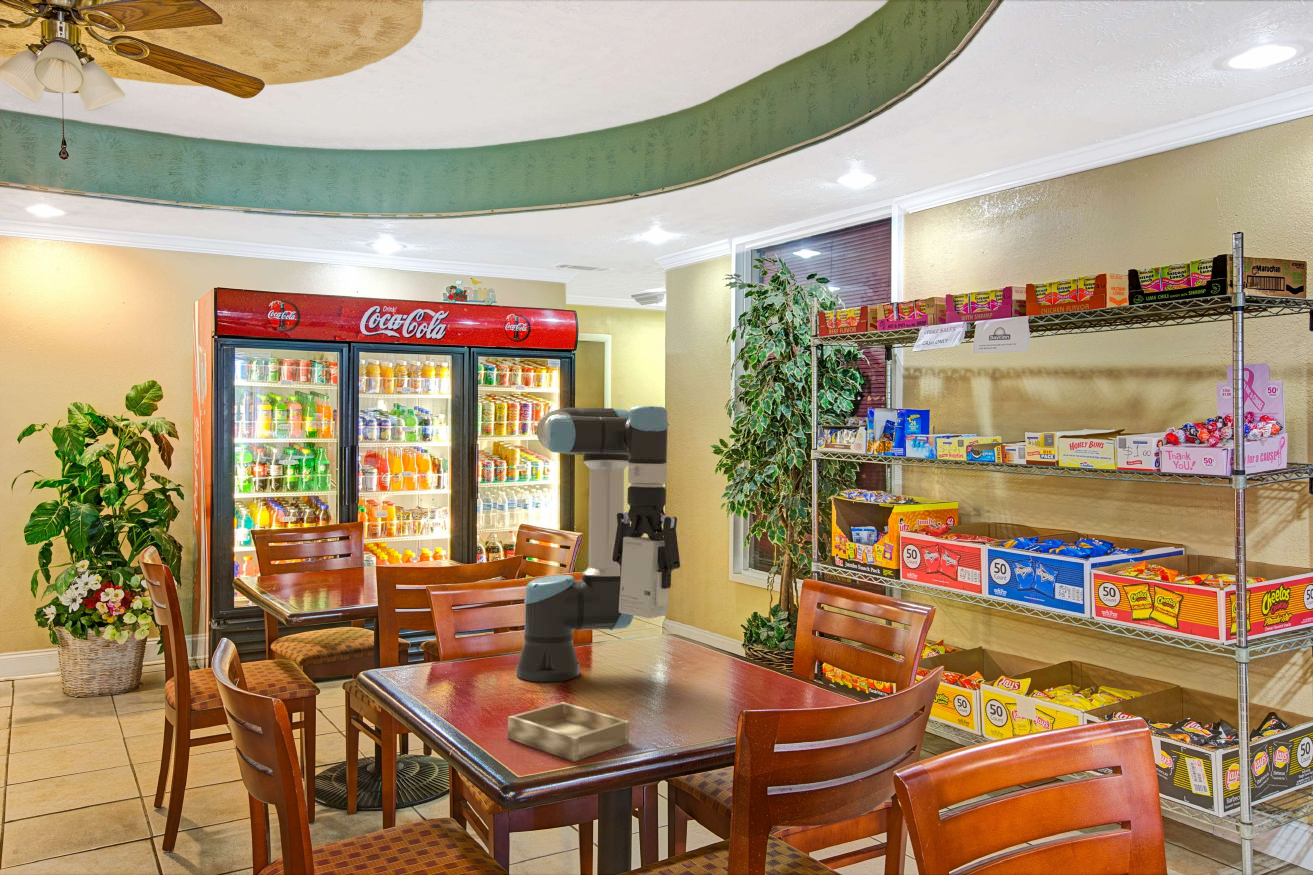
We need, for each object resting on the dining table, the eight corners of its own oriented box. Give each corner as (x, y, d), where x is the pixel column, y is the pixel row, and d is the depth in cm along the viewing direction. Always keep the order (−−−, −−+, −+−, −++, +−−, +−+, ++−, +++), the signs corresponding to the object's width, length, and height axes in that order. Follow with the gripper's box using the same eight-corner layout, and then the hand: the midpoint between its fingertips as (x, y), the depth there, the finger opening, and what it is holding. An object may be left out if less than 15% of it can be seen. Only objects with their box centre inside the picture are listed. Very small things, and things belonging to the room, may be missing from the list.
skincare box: (618, 613, 174) (619, 536, 174) (638, 609, 178) (640, 535, 179) (650, 619, 168) (652, 540, 169) (670, 615, 173) (672, 538, 173)
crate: (507, 737, 167) (508, 716, 167) (562, 721, 178) (563, 701, 178) (574, 761, 155) (574, 738, 155) (628, 742, 166) (629, 721, 166)
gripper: (595, 483, 178) (592, 597, 178) (676, 488, 164) (673, 612, 164) (621, 482, 183) (618, 593, 183) (701, 487, 170) (698, 607, 169)
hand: (644, 602), depth 173 cm, fingers closed on skincare box, 8 cm apart
